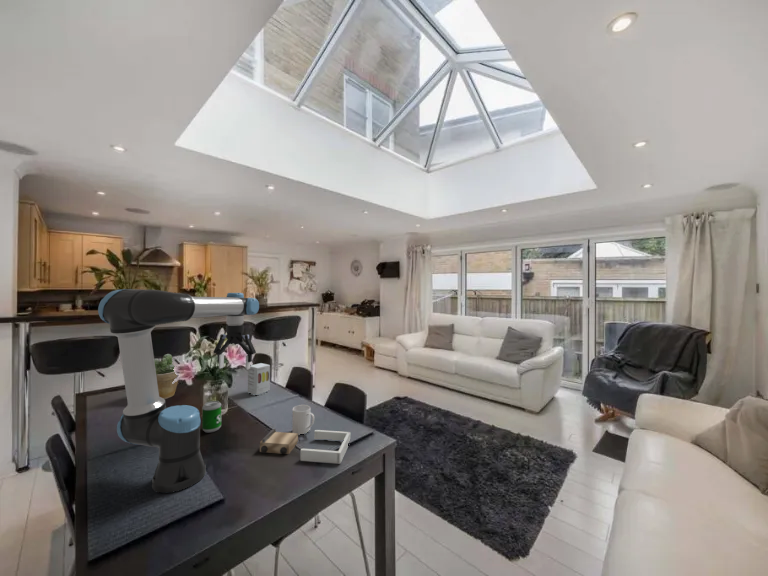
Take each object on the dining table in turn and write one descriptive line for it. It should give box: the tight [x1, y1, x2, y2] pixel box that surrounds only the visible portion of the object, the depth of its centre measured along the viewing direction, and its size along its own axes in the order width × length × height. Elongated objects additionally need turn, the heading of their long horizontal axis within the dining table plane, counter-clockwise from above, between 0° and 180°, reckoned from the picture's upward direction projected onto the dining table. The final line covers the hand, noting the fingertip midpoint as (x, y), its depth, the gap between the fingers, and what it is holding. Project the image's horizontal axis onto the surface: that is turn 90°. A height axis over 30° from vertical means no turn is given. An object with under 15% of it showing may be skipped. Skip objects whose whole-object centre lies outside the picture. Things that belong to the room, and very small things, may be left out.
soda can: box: [201, 400, 222, 434], centre depth 140 cm, size 8×8×12 cm
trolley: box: [259, 428, 299, 455], centre depth 126 cm, size 12×10×5 cm
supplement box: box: [247, 362, 271, 395], centre depth 188 cm, size 10×9×17 cm
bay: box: [300, 429, 352, 465], centre depth 123 cm, size 16×15×4 cm
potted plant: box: [154, 353, 179, 400], centre depth 180 cm, size 18×19×25 cm
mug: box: [291, 404, 316, 436], centre depth 138 cm, size 12×8×10 cm, turn 53°
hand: (234, 368), depth 149 cm, fingers open, 13 cm apart
